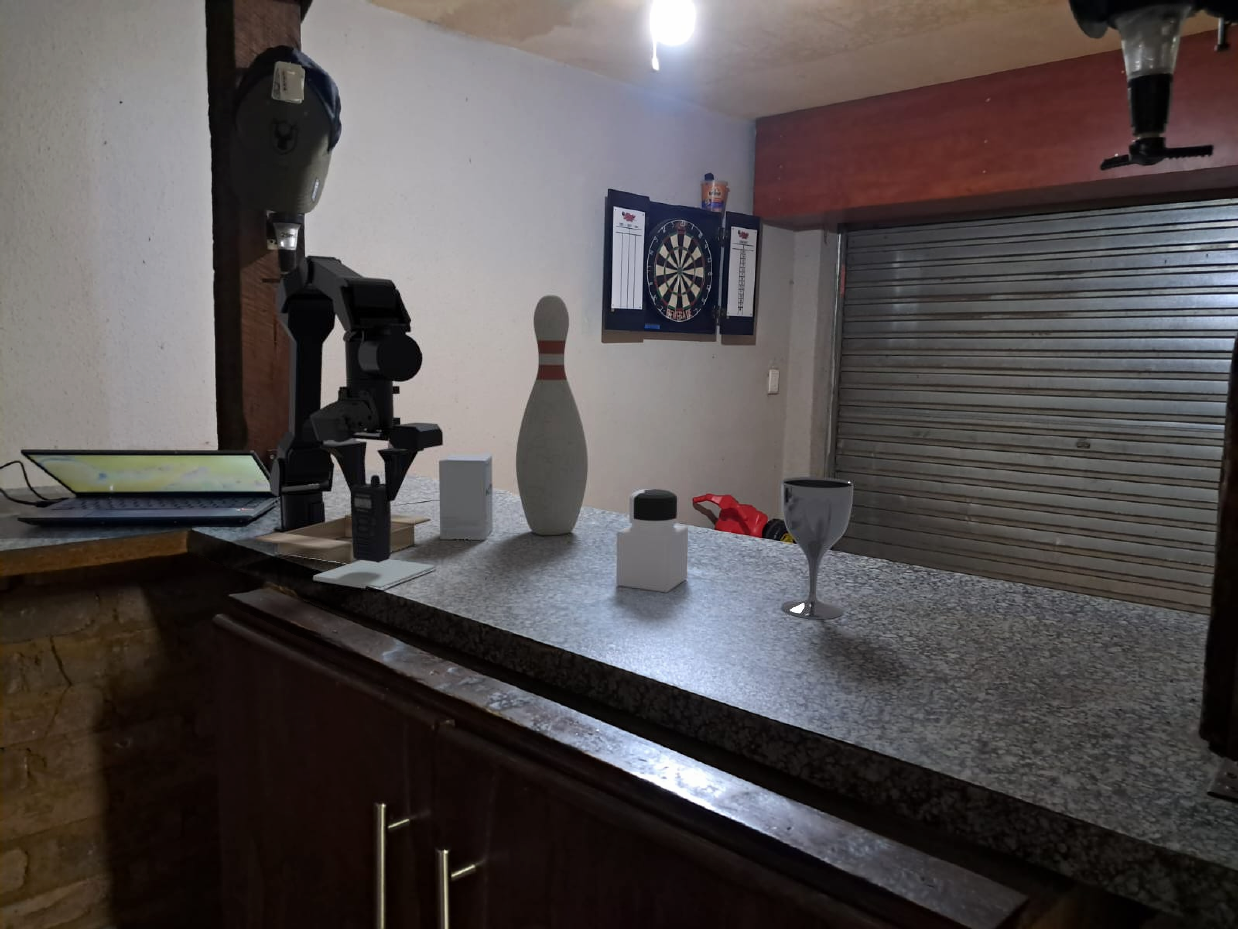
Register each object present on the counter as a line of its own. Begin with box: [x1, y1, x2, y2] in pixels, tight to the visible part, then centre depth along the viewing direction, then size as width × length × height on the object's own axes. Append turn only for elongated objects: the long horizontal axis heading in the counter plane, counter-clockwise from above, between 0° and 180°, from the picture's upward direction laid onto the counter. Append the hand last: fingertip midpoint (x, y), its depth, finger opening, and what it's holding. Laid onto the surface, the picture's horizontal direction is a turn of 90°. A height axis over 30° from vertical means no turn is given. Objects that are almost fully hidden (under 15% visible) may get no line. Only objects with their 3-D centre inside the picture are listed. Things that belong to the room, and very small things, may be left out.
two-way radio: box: [350, 446, 392, 563], centre depth 109 cm, size 6×4×15 cm
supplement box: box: [438, 454, 494, 541], centre depth 133 cm, size 7×7×13 cm
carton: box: [254, 513, 432, 564], centre depth 124 cm, size 14×22×3 cm, turn 155°
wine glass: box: [780, 476, 854, 620], centre depth 97 cm, size 8×8×15 cm
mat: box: [312, 558, 437, 590], centre depth 111 cm, size 11×11×1 cm
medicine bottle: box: [615, 488, 689, 593], centre depth 107 cm, size 7×7×12 cm
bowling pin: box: [515, 294, 589, 536], centre depth 134 cm, size 11×12×38 cm
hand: (373, 498), depth 109 cm, fingers closed on two-way radio, 5 cm apart
